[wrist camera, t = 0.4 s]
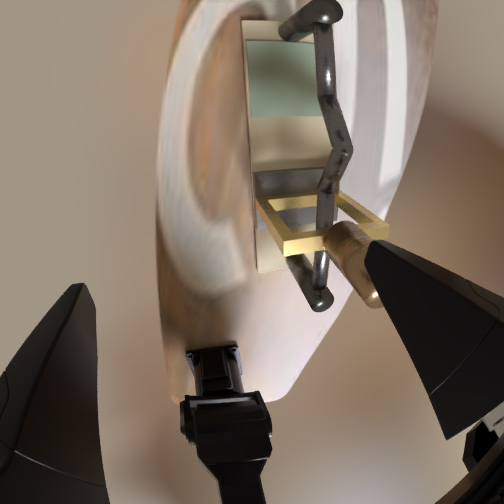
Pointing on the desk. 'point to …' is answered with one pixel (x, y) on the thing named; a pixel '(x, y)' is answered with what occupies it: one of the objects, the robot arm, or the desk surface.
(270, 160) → the base board
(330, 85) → the bent wire
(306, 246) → the wire loop
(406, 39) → the desk surface
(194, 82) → the desk surface
